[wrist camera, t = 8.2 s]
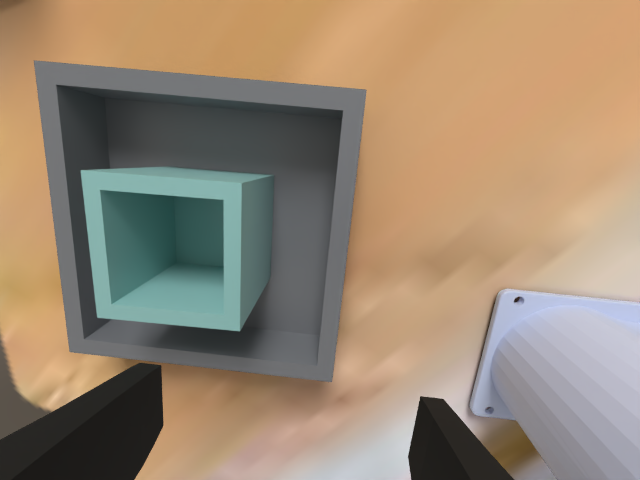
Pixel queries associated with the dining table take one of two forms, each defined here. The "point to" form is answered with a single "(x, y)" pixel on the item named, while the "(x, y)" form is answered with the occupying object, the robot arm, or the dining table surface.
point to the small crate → (178, 244)
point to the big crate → (223, 155)
